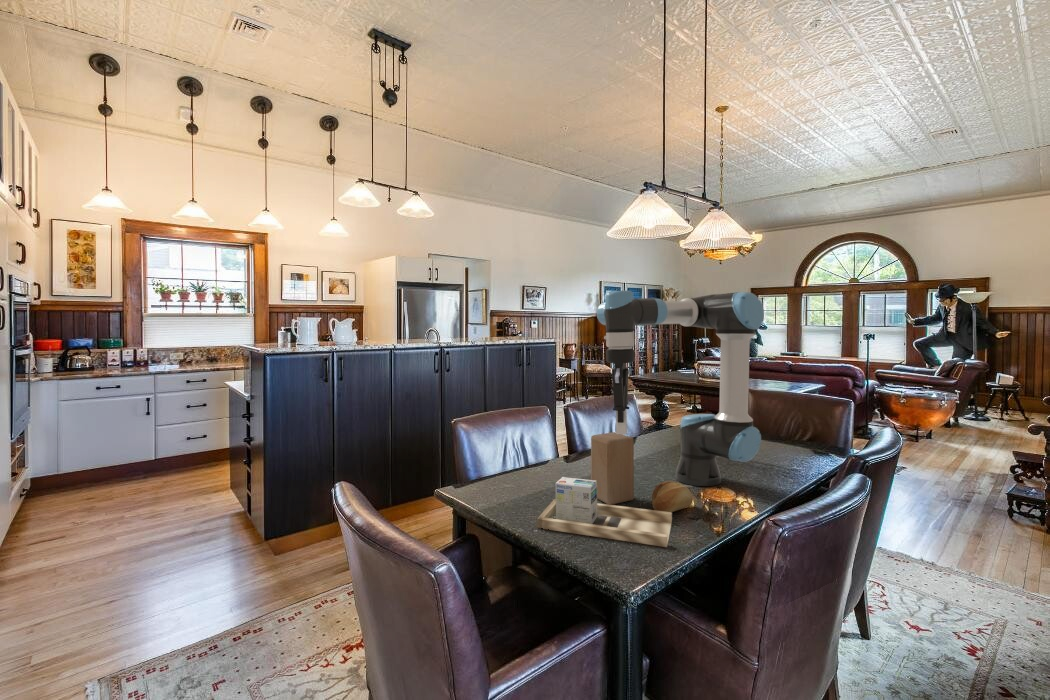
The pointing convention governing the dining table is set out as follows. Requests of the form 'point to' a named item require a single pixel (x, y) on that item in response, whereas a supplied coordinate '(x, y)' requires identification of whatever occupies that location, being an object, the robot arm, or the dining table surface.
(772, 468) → the dining table surface
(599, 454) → the block
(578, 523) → the birch trough
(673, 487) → the bread roll
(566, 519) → the light bulb box
